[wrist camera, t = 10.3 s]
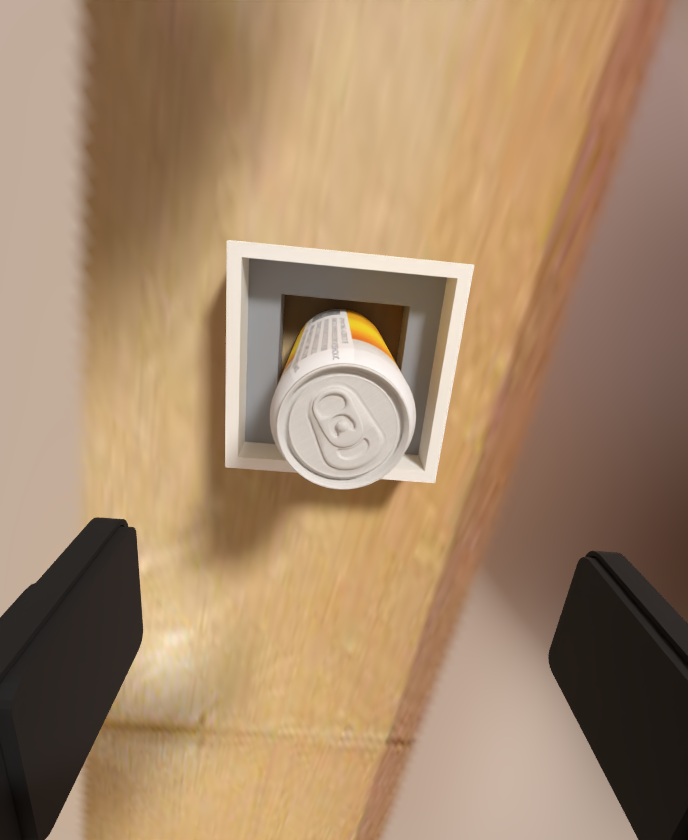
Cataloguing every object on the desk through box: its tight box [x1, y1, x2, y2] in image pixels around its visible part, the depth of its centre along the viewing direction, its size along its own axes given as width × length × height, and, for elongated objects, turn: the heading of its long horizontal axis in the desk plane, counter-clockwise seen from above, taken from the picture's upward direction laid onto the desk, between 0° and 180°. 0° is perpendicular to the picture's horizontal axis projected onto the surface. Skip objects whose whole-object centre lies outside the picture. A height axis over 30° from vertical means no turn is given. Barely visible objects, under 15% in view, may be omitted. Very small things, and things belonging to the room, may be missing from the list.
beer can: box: [270, 309, 416, 490], centre depth 25 cm, size 6×6×15 cm
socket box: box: [225, 240, 474, 483], centre depth 30 cm, size 14×14×5 cm
